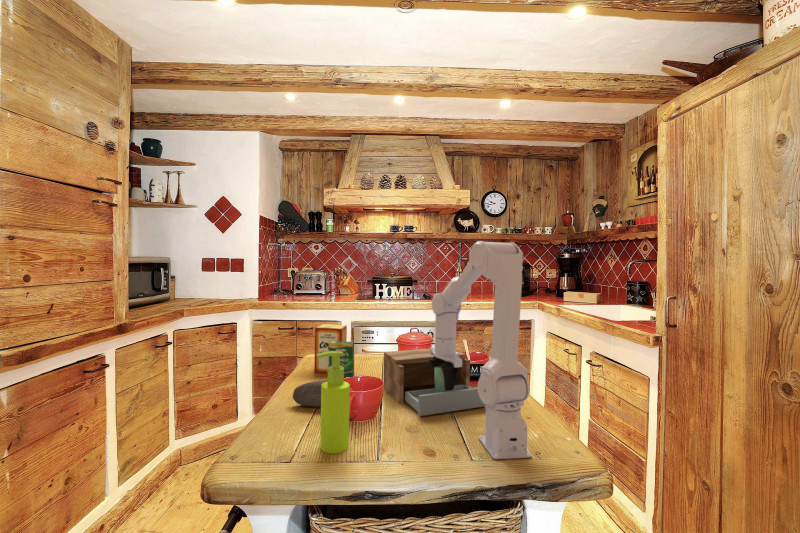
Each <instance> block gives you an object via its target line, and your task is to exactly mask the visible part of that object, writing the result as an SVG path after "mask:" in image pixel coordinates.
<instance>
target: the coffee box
mask: <svg viewBox="0 0 800 533" xmlns="http://www.w3.org/2000/svg"><path fill="white" fill-rule="evenodd" d="M329 351H342V352H343V353H344V356H340V365H341V366H342V367H344V378H346V377H353V376H354V377H355V341H347V342H330V343H329ZM330 366H332V356H329V367H330Z"/></svg>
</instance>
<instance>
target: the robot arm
mask: <svg viewBox="0 0 800 533" xmlns="http://www.w3.org/2000/svg"><path fill="white" fill-rule="evenodd" d="M523 257H524V252H523V250H521V249H520V247H519V246H518V245H517V244H516V243H515V242H512V241H511V242H494V241H481V240H477V241H476V242H474V244H473V245H472V247H471V248H470V250H469V254H468V262H467V264H466V266H465V267H464V268H463V271H462V272H461V273H460V275H459V276H456V277H455V276H454V277H452V278H451V280H450V281H449V283H448V284H447V285H446V287H445V288H444V290H443V291H442V292H438V293H437V292H436V293H434V295H433V297H432V299H431V309H432V312H433V313H434V315H435V320H434V323H435V325H434V326H435V327H434V328H435V329H434V331H435V332H434V334H435V336H434V347H430V348H429V349H430V355H434V357H433V358H429V362H430V364H431V366H432V368H433V372H434V367H435V366H440V365H441V368H442V371H443V374H444V384H445V390H447V391H448V390H453V389H454V385H455V381H456V378H457V376H458V374H459V372H460V370H461V369H462V359H460V358H459V357H458V356H459V353H458V352H456V350H457V321H458V320H459V315H460V312H461V310H462V303H463V302H464V301H465V299H467V297H468V296H469V295H470V293H471V292H472V285H473V284H474V283H475V282H476V281H477V280H478V279H479V278H480V277H481V276H483V277H485V278H486V279H488V280H489V281H491V282H492V284H493V285H494V298H493V300H494V302H493V316H492V317H493V318H492V338H491V353H490V355H491V356H490V359H489V360H487V362H485V363H484V365H483V366H482V367H481V369H480V376H479V378H478V382H477V386H476V388H478V394H479V397H480V399H481V400H482V402H483V403H484V404H485V405H486V406H485V422H484V424H485V425H484V426H485V428H484V429H485V430H484V435H478V440H479V441H480V442H481V443H482V445H483V446H484V449H486V451H487V452H488V453H489V455H490V456H491V458H492V459H494V460H504V459H505V460H507V459H527V458H531V457H532V454H531V453H530V452H529V451H528V425H527V423H526V421H525V419H524V417H523V416H522V409H521V408H522V407H524V402H525V401H527V399H528V398H529V396H530V393H531V392H530V390H531V389H530V388H531V387H530V386H531V385H530V383H529V378H528V369H527V368H526V366H525V365H523V364H522V363H521V362H520V361H518V356H519V355H518V354H519V338H520V323H521V322H520V321H521V307H522V306H521V305H522V304H521V303H522V302H521V301H522V287H523V285H522V284H523V276H522V275H523V261H524V258H523Z"/></svg>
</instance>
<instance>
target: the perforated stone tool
mask: <svg viewBox="0 0 800 533" xmlns="http://www.w3.org/2000/svg"><path fill="white" fill-rule="evenodd" d="M325 382H328V379H325V380H316V381H311V382H305V383H303V384H301V385H299V386H297V387H295V388H294V390H293V393H292V399H293V401H294V402H295V404H297V405H300V406H303V407H314V408H317V409H318V408H320V409H321V385H322V384H323V383H325Z"/></svg>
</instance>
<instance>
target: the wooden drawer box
mask: <svg viewBox="0 0 800 533" xmlns="http://www.w3.org/2000/svg"><path fill="white" fill-rule="evenodd" d="M456 352H458V353H459V356H458V357H459V358H460V359H462V369H461V370H460V372H459V374H458V376H457V378H456V381H455V385H454V386H456V385H464V384H465V385H467V386H469V387H470V380H471V377H470V360H468V359H466V353H464V352H462V351H459V350H457V349H456ZM433 357H434V355H430V348H418V349H406V350H405V349H404V350H395V351H383V378H382V379H383V381H384V389H383V390H384V391H385V392H387V394H389V395H390V396H391V397H392V398H393V399H394V400H395V401H396V402H397V403H398V404H402V403H404V388H410V387H419V386H420V387H421V386H429V385H434V372H433V368H432V366H431V364H430V362H429V358H433ZM383 381H382V382H383Z"/></svg>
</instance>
